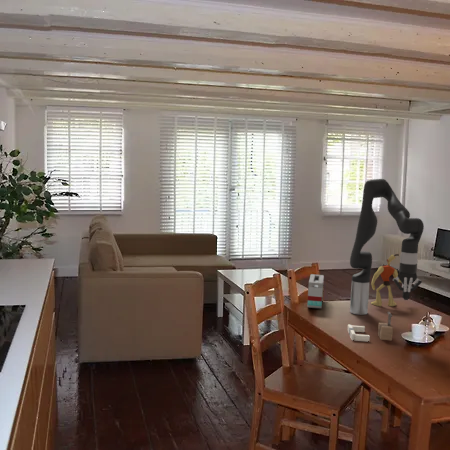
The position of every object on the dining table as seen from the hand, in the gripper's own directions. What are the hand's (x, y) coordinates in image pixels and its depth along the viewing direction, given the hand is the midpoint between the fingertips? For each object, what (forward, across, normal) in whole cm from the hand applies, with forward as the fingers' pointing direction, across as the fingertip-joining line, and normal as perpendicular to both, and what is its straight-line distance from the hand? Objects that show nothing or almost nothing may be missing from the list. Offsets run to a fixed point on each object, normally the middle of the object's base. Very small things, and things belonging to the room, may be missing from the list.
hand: (405, 299), depth 246 cm
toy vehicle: (+19, +36, -56) cm, 69 cm away
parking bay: (+18, +20, 0) cm, 27 cm away
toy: (+19, -6, -63) cm, 66 cm away
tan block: (+19, +8, 0) cm, 20 cm away
